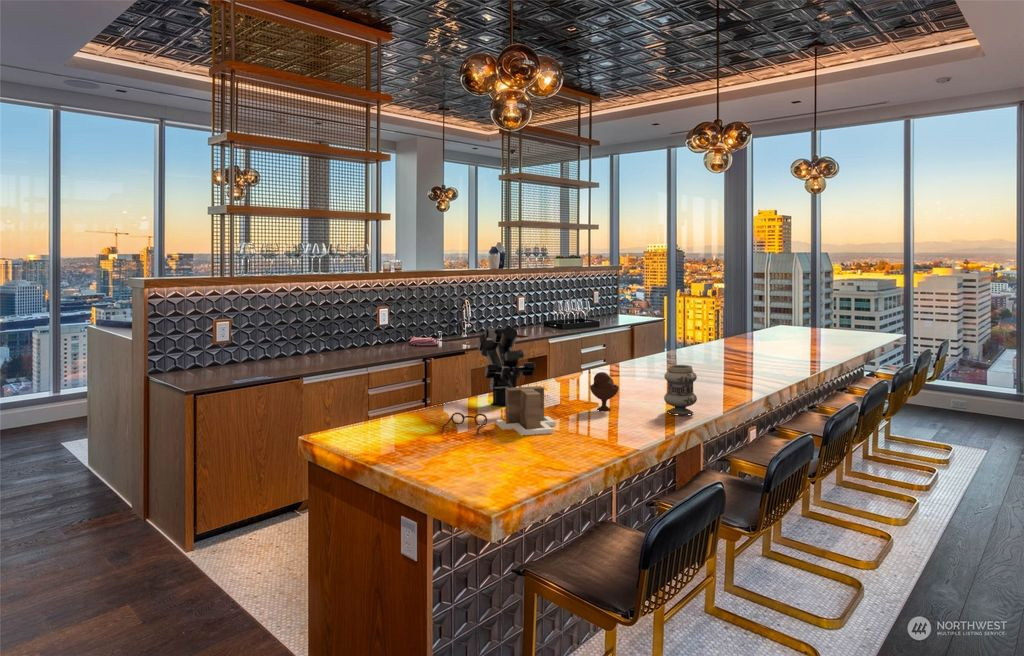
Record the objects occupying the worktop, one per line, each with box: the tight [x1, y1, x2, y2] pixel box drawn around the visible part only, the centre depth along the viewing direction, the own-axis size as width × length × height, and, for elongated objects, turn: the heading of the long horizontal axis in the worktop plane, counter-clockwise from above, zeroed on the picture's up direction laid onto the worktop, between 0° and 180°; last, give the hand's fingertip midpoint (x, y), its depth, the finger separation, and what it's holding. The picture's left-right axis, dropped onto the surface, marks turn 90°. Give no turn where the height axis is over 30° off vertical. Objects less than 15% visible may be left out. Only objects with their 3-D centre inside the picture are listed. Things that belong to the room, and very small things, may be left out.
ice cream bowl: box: [589, 371, 620, 412], centre depth 251 cm, size 11×11×15 cm
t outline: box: [495, 415, 557, 437], centre depth 226 cm, size 17×19×2 cm
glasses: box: [441, 412, 488, 436], centre depth 224 cm, size 13×13×5 cm
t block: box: [505, 385, 545, 429], centre depth 226 cm, size 13×13×13 cm
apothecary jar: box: [663, 364, 698, 415], centre depth 245 cm, size 12×12×18 cm
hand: (514, 388), depth 243 cm, fingers closed
